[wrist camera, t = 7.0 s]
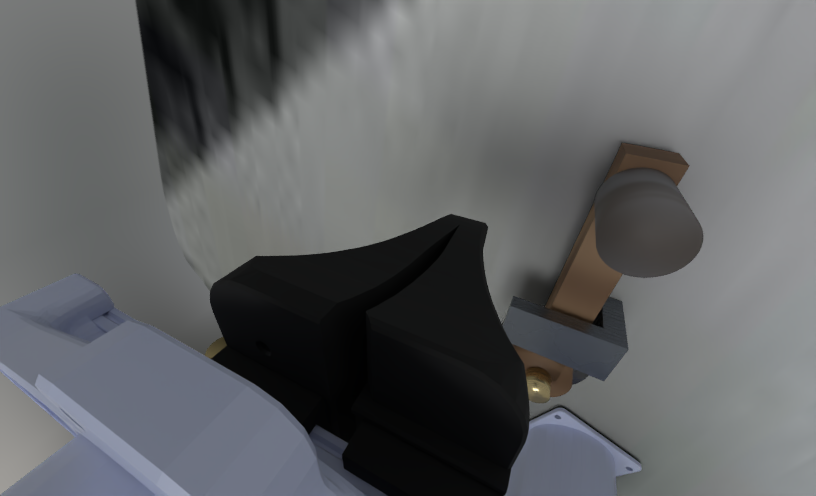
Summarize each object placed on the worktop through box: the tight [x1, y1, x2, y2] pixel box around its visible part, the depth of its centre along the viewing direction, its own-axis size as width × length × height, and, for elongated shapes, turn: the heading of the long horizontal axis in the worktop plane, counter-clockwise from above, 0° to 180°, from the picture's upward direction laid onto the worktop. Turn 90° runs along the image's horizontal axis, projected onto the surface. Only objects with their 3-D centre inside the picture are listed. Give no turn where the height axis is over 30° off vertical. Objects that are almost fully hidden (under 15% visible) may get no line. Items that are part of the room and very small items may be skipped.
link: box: [512, 143, 703, 397], centre depth 18 cm, size 18×4×6 cm, turn 174°
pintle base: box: [502, 323, 588, 403], centre depth 23 cm, size 7×7×4 cm
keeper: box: [502, 296, 628, 381], centre depth 21 cm, size 3×6×4 cm, turn 84°
